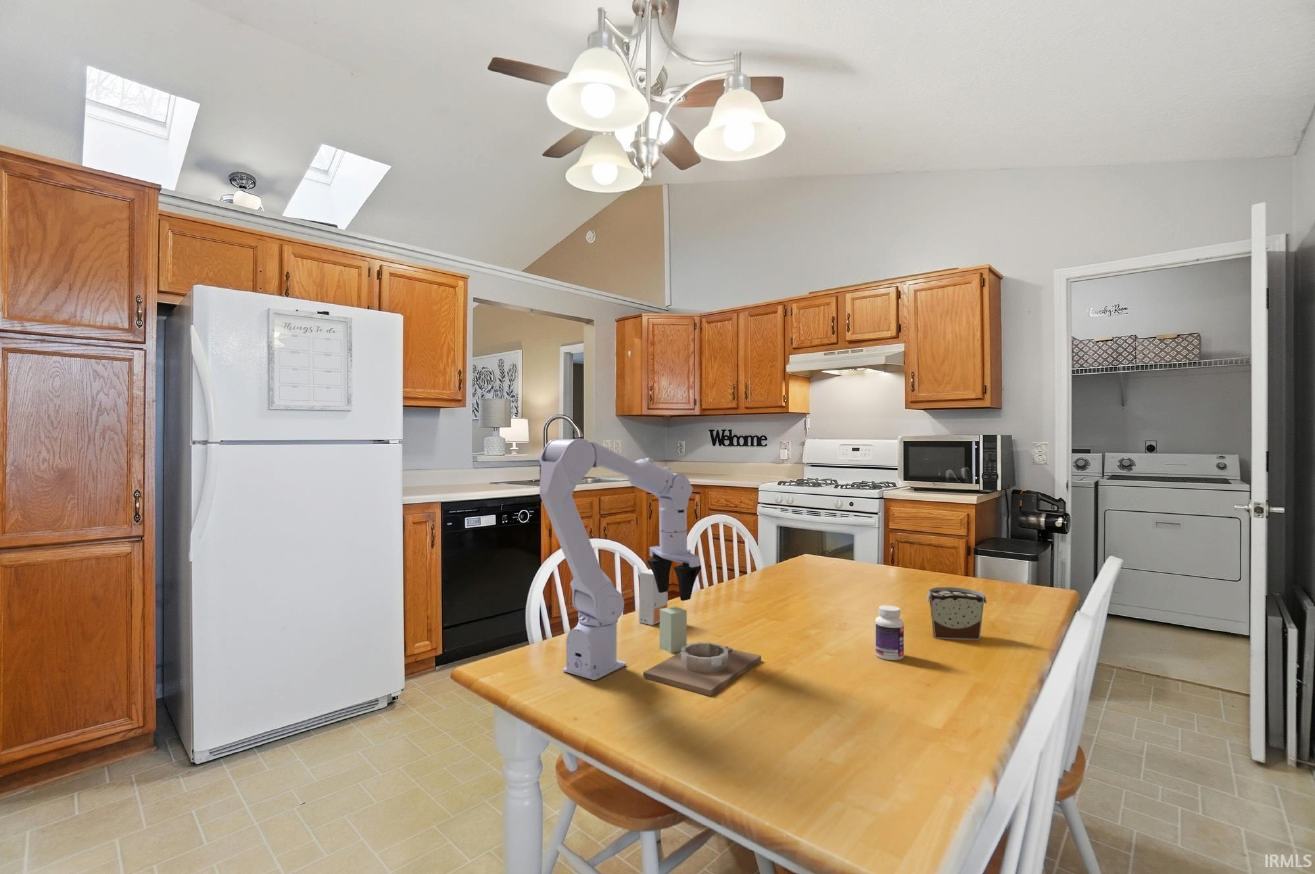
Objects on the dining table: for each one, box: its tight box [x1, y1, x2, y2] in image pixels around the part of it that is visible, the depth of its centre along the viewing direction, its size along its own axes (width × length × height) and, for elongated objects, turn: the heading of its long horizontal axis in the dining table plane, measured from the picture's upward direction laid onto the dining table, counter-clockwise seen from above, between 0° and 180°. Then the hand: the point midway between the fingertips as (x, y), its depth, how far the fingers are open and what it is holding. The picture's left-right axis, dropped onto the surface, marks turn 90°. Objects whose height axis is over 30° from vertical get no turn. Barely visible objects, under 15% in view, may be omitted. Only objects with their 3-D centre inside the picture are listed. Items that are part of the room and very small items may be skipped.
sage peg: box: [659, 605, 688, 654], centre depth 126 cm, size 4×4×8 cm
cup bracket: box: [642, 641, 762, 697], centre depth 115 cm, size 20×14×4 cm
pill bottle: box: [874, 604, 905, 661], centre depth 122 cm, size 5×5×10 cm
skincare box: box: [638, 568, 669, 626], centre depth 145 cm, size 6×4×12 cm
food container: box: [926, 586, 987, 641], centre depth 135 cm, size 12×6×10 cm, turn 84°
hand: (674, 595), depth 126 cm, fingers open, 7 cm apart
